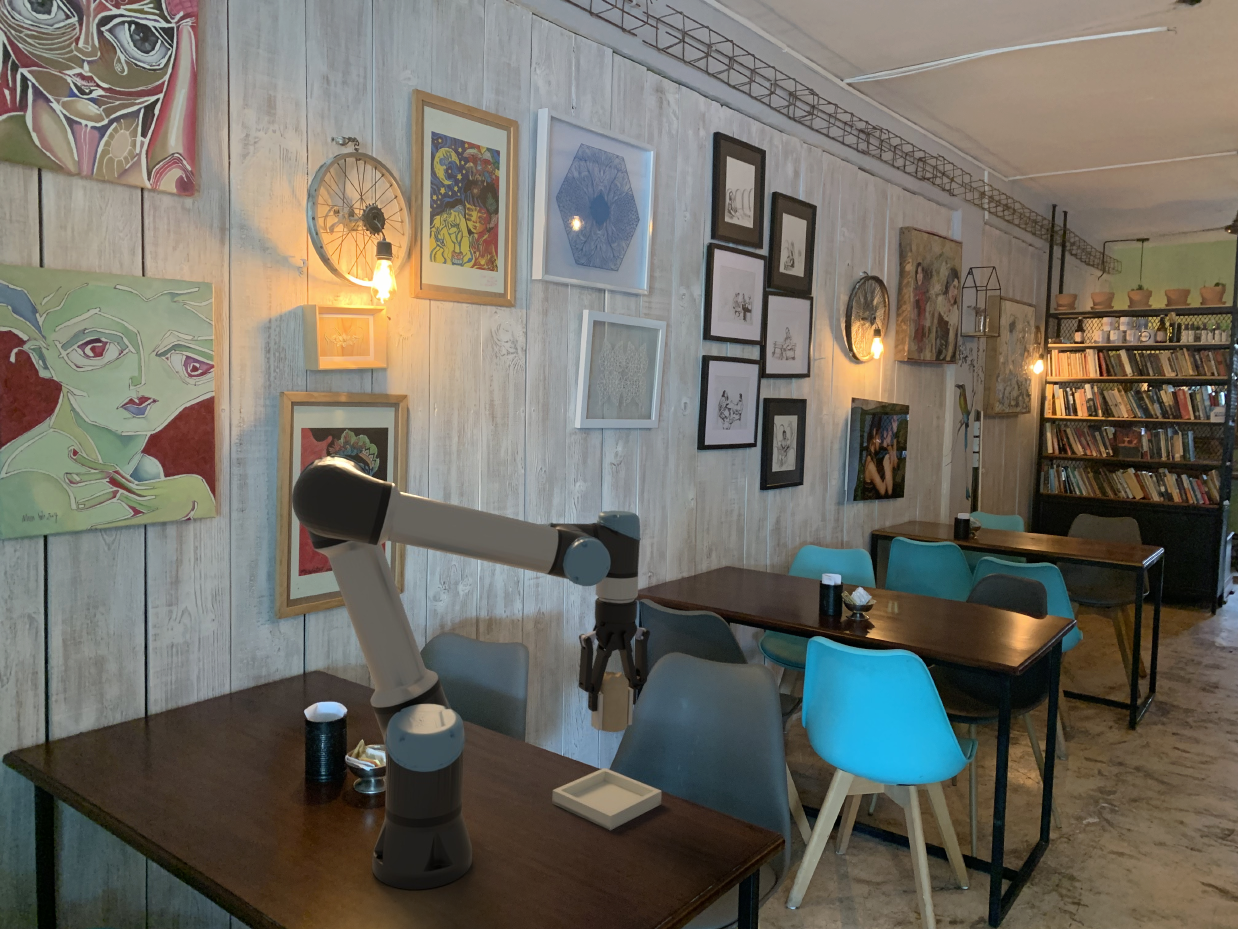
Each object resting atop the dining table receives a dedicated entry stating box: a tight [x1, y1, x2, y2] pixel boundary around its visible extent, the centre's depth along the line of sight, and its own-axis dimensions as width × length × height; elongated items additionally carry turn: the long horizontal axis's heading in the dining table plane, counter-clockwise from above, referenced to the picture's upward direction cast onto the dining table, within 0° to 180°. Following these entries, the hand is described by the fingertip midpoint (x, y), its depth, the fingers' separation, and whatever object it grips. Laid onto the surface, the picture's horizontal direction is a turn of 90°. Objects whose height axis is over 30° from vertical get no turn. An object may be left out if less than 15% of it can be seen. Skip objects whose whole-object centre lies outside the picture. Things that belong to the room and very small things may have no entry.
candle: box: [600, 670, 629, 733], centre depth 158 cm, size 6×6×10 cm
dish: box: [551, 767, 663, 831], centre depth 160 cm, size 14×14×2 cm
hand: (611, 724), depth 159 cm, fingers closed on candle, 5 cm apart
